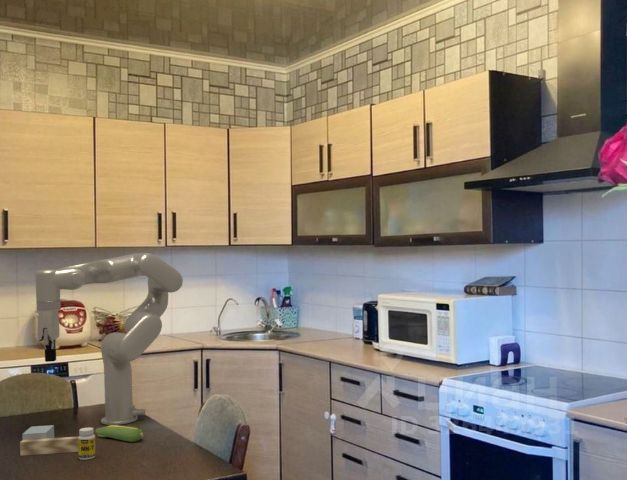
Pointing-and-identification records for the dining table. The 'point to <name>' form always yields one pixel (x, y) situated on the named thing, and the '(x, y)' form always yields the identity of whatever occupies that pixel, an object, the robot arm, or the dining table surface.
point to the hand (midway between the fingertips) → (50, 361)
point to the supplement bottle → (86, 444)
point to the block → (39, 432)
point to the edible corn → (121, 432)
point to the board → (49, 446)
